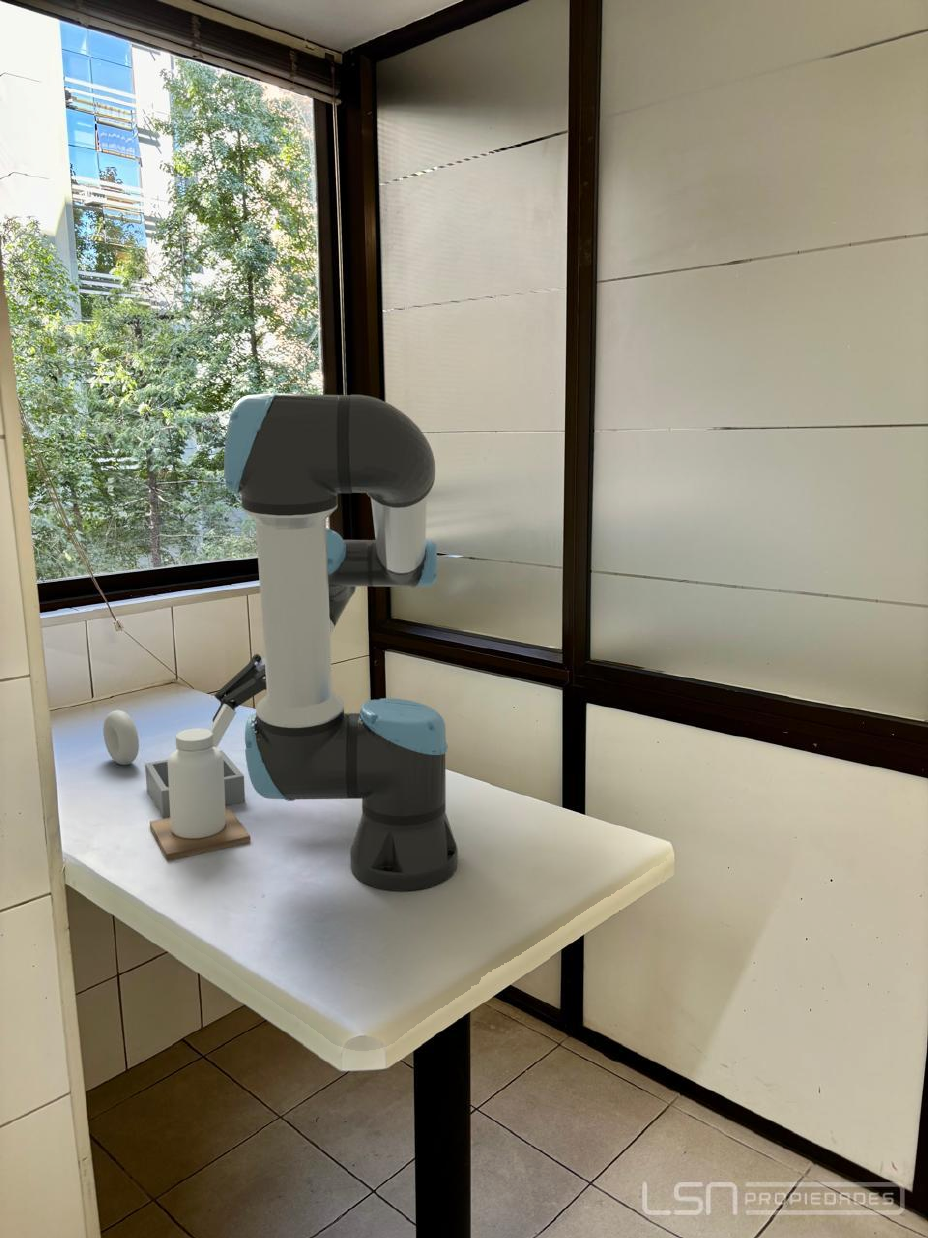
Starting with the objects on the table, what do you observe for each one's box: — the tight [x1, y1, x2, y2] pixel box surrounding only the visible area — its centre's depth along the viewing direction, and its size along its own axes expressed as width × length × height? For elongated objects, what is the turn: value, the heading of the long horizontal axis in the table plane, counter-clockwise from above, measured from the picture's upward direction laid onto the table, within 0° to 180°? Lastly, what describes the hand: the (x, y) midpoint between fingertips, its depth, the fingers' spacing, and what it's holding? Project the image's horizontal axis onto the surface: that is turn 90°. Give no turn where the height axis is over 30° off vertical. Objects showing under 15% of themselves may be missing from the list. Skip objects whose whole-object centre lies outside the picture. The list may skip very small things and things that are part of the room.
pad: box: [149, 805, 251, 862], centre depth 136 cm, size 12×12×1 cm
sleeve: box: [144, 750, 246, 819], centre depth 150 cm, size 13×13×4 cm
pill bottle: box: [167, 728, 226, 839], centre depth 135 cm, size 8×8×15 cm
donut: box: [102, 709, 140, 766], centre depth 163 cm, size 10×4×10 cm, turn 43°
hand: (240, 752), depth 142 cm, fingers open, 13 cm apart
